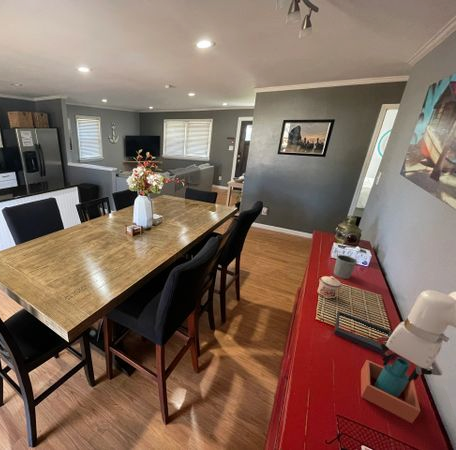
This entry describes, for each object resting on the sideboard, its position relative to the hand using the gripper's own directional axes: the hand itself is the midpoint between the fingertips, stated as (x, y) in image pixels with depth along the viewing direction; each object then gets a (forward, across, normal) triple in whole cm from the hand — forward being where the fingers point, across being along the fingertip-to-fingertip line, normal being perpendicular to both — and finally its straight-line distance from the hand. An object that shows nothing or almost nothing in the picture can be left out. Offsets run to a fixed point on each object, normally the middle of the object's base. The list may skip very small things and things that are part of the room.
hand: (397, 370), depth 79 cm
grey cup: (+12, +43, -72) cm, 85 cm away
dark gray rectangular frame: (+12, +16, -25) cm, 32 cm away
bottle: (+12, 0, 0) cm, 12 cm away
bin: (+12, 0, 0) cm, 12 cm away
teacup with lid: (+12, +37, -43) cm, 58 cm away
